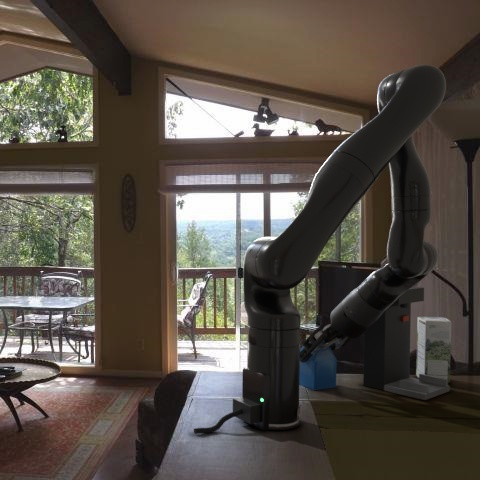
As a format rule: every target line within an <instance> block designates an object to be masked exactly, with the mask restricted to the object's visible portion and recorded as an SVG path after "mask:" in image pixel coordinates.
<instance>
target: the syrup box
mask: <svg viewBox="0 0 480 480" xmlns="http://www.w3.org/2000/svg"><path fill="white" fill-rule="evenodd" d="M416 320H417V323H416V324H417V326H416V363H415V376H416V377H417V379H419V374H425V375H430V376H435V377H440V378H445V379H448V384H450V382H451V380H450V379H451V355H452V354H451V351H452V350H451V349H452V325H453V324H452V320H450V319H448V318H446V317H442V316H417V319H416Z"/></svg>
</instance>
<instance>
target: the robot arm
mask: <svg viewBox="0 0 480 480" xmlns="http://www.w3.org/2000/svg"><path fill="white" fill-rule="evenodd" d="M446 90H447V82H446V77H445V75H444V73H443V71H442V70H441V69H440V68H439V67H437V66H435V65H432V64H417V65H413V66H410V67H407V68H405V69H402V70H400V71H397V72H394V73H390V74H389V75H387V76H386V77H385V78H384V79H383V80H382V81H381V82H380V83H379V85H378V88H377V95H376V96H377V97H376V101H377V103H376V104H377V110H378V114H377V115H376V116H375V117H374V118H373V119H371V120H369V122H367V123H366V124H365V125H362V127H361V128H359V129H358V130H356V131H355V132H354V133H353V134H351V135H349V137H347V139H345V140H344V141H342V143H340V144H339V145H338V146H337V148H336V149H334V150H333V152H332V153H331V154H330V156H329V157H327V159H326V160H325V162H324V163H323V164H322V166H321V167H320V168H319V169H318V171H317V172H316V173H315V176H314V177H313V180H312V181H311V185H310V188H309V190H308V194H307V197H306V200H305V203H304V204H303V207H302V208H301V210H300V212H299V213H298V214H297V216H296V217H295V218H294V219H293V220H292V221H291V223H289V224H288V226H287V227H285V229H284V230H283V231H281V233H280V234H279V235H278V236H263V237H260V238H257V239H255V240H254V241H252V242H251V243H250V244H249V246H248V247H247V249H246V250H245V254H244V258H243V264H242V265H243V266H242V267H243V268H242V269H243V270H242V274H243V275H242V278H243V305H244V309H245V312H246V316H247V352H246V353H247V354H246V355H247V357H246V358H247V360H246V367H243V368H242V385H241V386H242V388H241V389H242V391H241V392H242V393H241V395H242V396H241V397H240V396H239V397H234V398H232V412H229V413H227V414H225V415H224V416H221V418H219V420H218V422H217V423H216V424H215V425H213V426H209V427H195V428H193V433H194V434H195V435H197V434H211V433H214V432H216V431H219V430H220V429H221V427H222V426H223V425H224V424H225V423H226V422H228V420H231V419H232V418H237V419H238V420H241V421H243V422H245V423H247V424H249V425H251V426H253V427H255V428H257V429H259V430H261V431H269V430H270V431H271V430H272V431H286V430H291V429H295V428H297V427H298V426H299V425H300V415H301V404H300V385H299V375H300V361H301V362H302V363H304V362H306V361H307V360H308V359H309V358H310V357H311V356H312V355H313V354H315V353H316V352H317V351H319V350H320V349H323V350H324V349H326V348H327V347H329V348H330V349H331V351H332V352H333V353H334V351H335V350H338V349H340V347H342V348H343V347H345V346H346V345H347V344H348V343H349V342H351V340H352V339H358V338H359V337H360V336H362V335H363V334H364V332H365V331H366V330H367V329H368V328H369V327H370V326H371V325H372V324H373V323H374V322H375V321H376V320H377V319H378V318H379V317H380V316H381V315H382V314H383V312H384V311H385V310H386V309H387V308H388V307H390V306H391V305H392V304H393V303H394V302H395V301H396V300H397V299H398V298H399V297H400V296H401V295H402V294H403V293H404V292H405V291H407V290H408V289H410V288H411V287H415V285H417V284H418V283H420V282H421V281H422V280H423V279H424V278H426V277H427V276H428V275H430V273H432V271H433V270H434V269H435V268H436V266H437V264H438V261H439V253H438V250H437V248H436V247H435V245H434V244H433V243H431V242H430V241H428V240H425V230H426V227H428V226H429V225H430V223H431V221H432V215H433V214H432V212H433V211H432V187H431V180H430V176H429V174H428V172H427V169H426V167H425V165H424V163H423V161H422V159H421V157H420V154H419V153H418V151H417V148H416V144H415V141H414V135H413V134H414V133H416V131H417V130H418V129H419V128H420V127H421V126H422V125H423V124H424V123H425V122H426V121H427V120H428V119H429V118H430V117H431V116H432V115H433V114H434V113H435V112H436V111H437V109H438V108H439V107H440V106H441V104H442V102H443V100H444V99H445V98H444V97H445V96H446ZM387 166H388V168H389V176H390V177H389V179H390V196H391V198H390V199H391V200H390V202H391V217H392V218H391V225H390V228H389V232H388V233H389V234H388V240H387V244H386V245H387V246H386V261H387V264H385V265H384V266H382V267H381V268H378V269H376V270H374V271H373V272H372V273H370V274H369V275H368V276H367V277H366V278H365V279H364V280H363V281H362V282H361V283H360V284H359V285H358V286H357V287H356V288H354V289H353V290H352V291H350V292H349V293H348V294H347V295H346V297H344V298H343V299H342V300H341V301H340V303H339V304H337V305H336V306H335V307H334V309H333V310H331V312H330V316H329V317H330V323H328V324H326V325H324V327H323V328H320V327H317V328H315V329H314V330H315V331H314V332H313V333H312V334H311V335H310V334H309V335H308V336H307V337H306V339H305V340H304V341H303V342H302V343H301V313H300V311H299V310H298V309H297V307H296V306H295V304H294V302H293V299H292V295H291V289H294V288H295V287H297V286H299V285H300V284H301V283H302V282H303V281H304V280H305V278H306V277H307V276H308V274H309V273H310V272H311V270H312V268H313V267H314V266H315V263H316V262H317V260H318V259H319V257H320V255H321V254H322V252H323V251H324V249H325V247H326V246H327V244H328V243H329V241H330V239H331V238H332V237H333V235H334V234H335V233H336V231H337V230H338V229H339V228H340V226H341V225H342V224H343V223H344V221H345V220H346V219H347V218H348V217H349V215H350V214H351V212H352V211H353V210H354V208H356V206H357V205H358V204H359V202H361V200H362V199H363V198H364V196H366V194H367V193H368V192H369V190H370V189H371V188H372V187H373V185H374V184H375V182H376V181H377V180H378V178H379V177H380V175H381V174H382V172H383V171H385V169H386V167H387ZM323 341H324V342H323ZM322 342H323V344H322ZM301 345H302V347H303V346H304V349H303V350H302V351H301V352H300V350H301Z"/></svg>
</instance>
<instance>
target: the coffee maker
mask: <svg viewBox="0 0 480 480" xmlns="http://www.w3.org/2000/svg"><path fill="white" fill-rule="evenodd" d="M424 301H425V287H423V286H421V287H420V286H412V287H411V288H410V289H408V290H407V291H405V292H404V293H403V294H402V295H401V296H400V297H399V298H398V299H397V300H396V301H395V302H394V303H393V304H392V305H391V306H390V307H388V308H387V309H386V310H385V311H384V312H383V314H382V315H381V316H380V317H379V318H378V319H377V320H376V321H375V322H374V323H373V324H372V325H371V326H370V327H369V328H368V329H367V330H366V331H365V332H363V378H362V379H363V381H362V382H363V387H369V388H372V389H377V390H381V391H385V392H389V393H393V394H398V395H402V396H405V397H409V398H414V399H417V400H422V401H427V400H431V399H433V398H435V397H438V396H440V395H443V394H446V393H448V392H450V390H451V386H450V385H449V383H448V379H445V378H440V377H435V376H430V375H425V374H419V378H415V377H410V376H411V375H410V374H411V367H410V366H411V319H412V318H411V317H412V316H411V315H412V314H411V313H412V303H413V304H414V303H420V302H424Z"/></svg>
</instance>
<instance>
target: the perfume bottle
mask: <svg viewBox="0 0 480 480" xmlns="http://www.w3.org/2000/svg"><path fill="white" fill-rule="evenodd" d="M315 330H316V329H313V330H311V329H310V330H309V331H308V333H309V336H310V335H311V334H312V333H313V332H314V331H315ZM324 343H325V342H324V341H323V342H322V344H324ZM303 349H304V346H303V345H302V347H300V352H301V351H302V350H303ZM337 360H338V359H337V357H336V356H335V354H334V351H333V352H332V351H331V349H330V348H329V347H327V348H326V349H324V350H323V349H320V350H319V351H317V352H316V353H315V354H313V355H312V356H311V357H310V358H309V359H308V360H307V361H306V362H304V363H302V362H301V361H300V375H299V386H302V387H305V388H307V389H310V390H312V391H317V390H326V389H333V388H337Z"/></svg>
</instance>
